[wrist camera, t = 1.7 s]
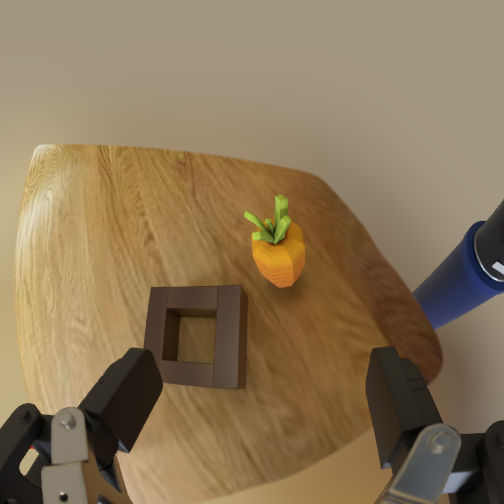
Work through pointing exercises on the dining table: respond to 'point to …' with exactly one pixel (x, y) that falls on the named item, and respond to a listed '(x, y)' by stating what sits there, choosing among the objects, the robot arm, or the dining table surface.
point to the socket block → (226, 342)
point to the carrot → (278, 246)
